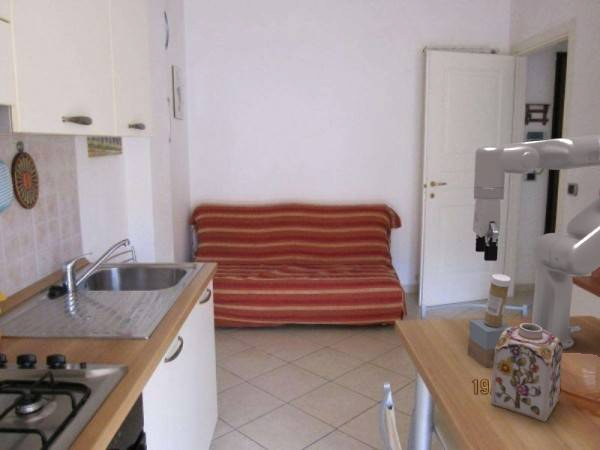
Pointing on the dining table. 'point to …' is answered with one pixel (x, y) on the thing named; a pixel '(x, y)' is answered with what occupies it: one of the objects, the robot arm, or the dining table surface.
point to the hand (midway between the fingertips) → (485, 255)
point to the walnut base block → (481, 354)
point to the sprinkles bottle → (496, 300)
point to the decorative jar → (527, 371)
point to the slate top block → (485, 333)
